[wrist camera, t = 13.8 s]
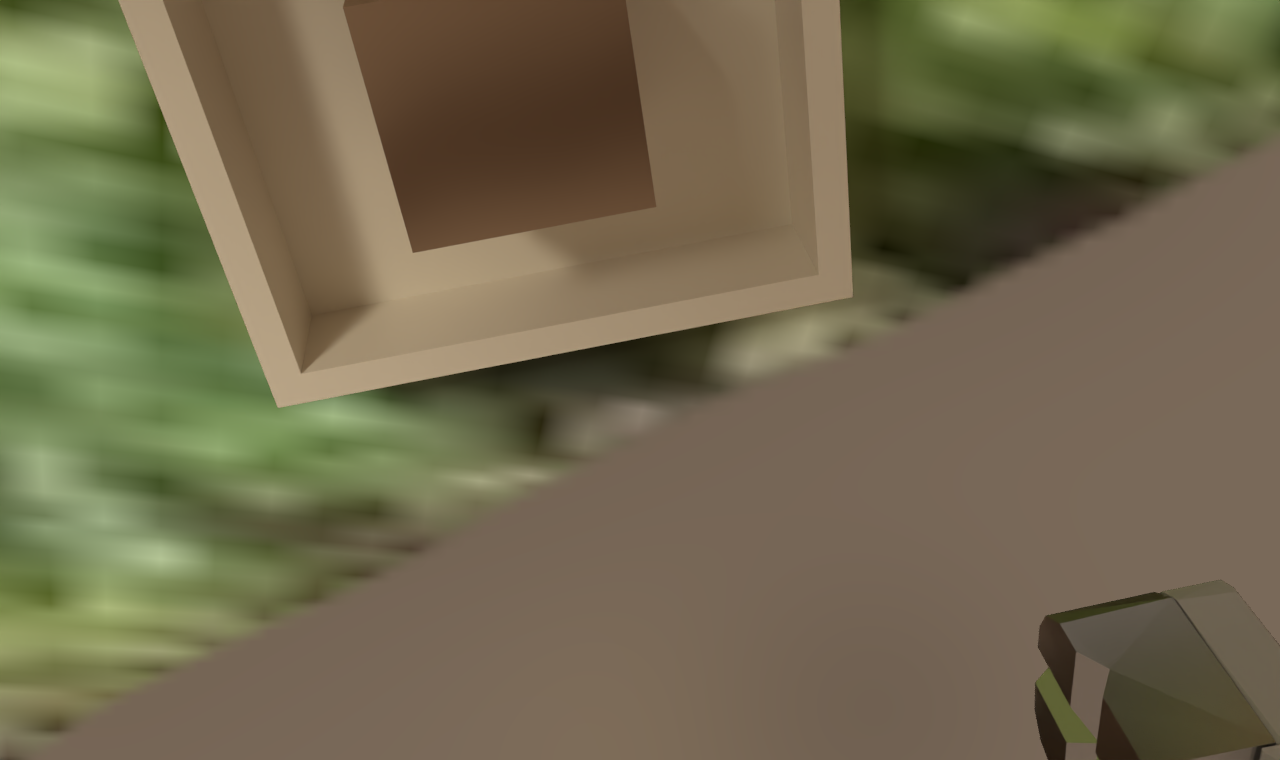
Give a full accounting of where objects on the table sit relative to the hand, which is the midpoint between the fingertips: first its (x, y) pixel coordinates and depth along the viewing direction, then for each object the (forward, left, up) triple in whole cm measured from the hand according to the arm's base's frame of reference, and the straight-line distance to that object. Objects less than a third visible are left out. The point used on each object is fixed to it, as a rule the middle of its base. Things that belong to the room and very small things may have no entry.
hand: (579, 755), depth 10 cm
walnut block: (0, 0, -20) cm, 20 cm away
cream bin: (0, 0, -21) cm, 21 cm away
